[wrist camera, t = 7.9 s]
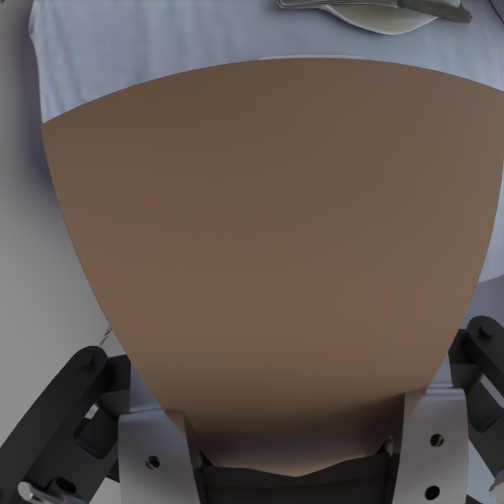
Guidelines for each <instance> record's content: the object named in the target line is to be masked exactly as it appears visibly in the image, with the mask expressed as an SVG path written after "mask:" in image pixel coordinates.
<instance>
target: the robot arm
mask: <svg viewBox="0 0 504 504" xmlns="http://www.w3.org/2000/svg"><path fill="white" fill-rule="evenodd" d="M490 1H491V3H492V5H493V6H494V8H495V10H496V11H497V13H498V14H499V16H500V17H501V18H502V20H503V21H504V0H490ZM484 375H485V376H486V377H487V378H488V379H489V380H490V382H491V383H492V384H493V385H494V386H495V388H496V389H497V390H498V391H499V392H500V394H501V395H502V396H503V397H504V328H503V327H502V326H501V325H500V324H499V323H498V322H497V321H495V320H494V319H492V318H490V317H487V316H476V317H474V318H472V319H471V320H470V321H469V324H468V326H467V328H466V329H459V330H458V332H457V334H456V336H455V338H454V340H453V342H452V344H451V346H450V348H449V350H448V352H447V354H446V356H445V358H444V360H443V362H442V364H441V365H440V367H439V369H438V371H437V372H436V374H435V376H434V378H433V379H432V381H431V383H430V384H429V386H428V388H427V389H422V390H416V391H411V392H405V393H404V394H403V396H402V398H401V400H400V401H399V403H398V405H397V407H396V408H395V410H394V412H393V413H392V415H391V417H390V418H389V420H388V422H387V423H386V425H385V426H384V428H383V429H382V431H381V432H380V434H379V435H378V437H377V438H376V440H375V441H374V443H373V444H372V446H371V447H370V448H369V450H368V451H367V453H366V454H365V456H364V457H361V458H356V459H350V460H345V461H342V462H340V463H337V464H335V465H332V466H330V467H327V468H324V469H321V470H318V471H315V472H312V473H309V474H306V475H303V476H299V477H293V476H286V475H280V474H275V473H269V472H264V471H260V470H255V469H251V468H235V467H223V465H222V463H221V462H220V461H219V460H218V458H217V457H216V456H215V455H214V453H213V452H212V451H211V450H210V448H209V447H208V446H207V444H206V443H205V442H204V440H203V439H202V438H201V436H200V435H199V434H198V432H197V431H196V429H195V428H194V427H193V425H192V424H191V422H190V421H189V419H188V418H187V416H186V415H185V414H184V412H183V411H182V410H163V408H162V407H161V406H160V404H159V403H158V401H157V400H156V399H155V397H154V396H153V394H152V393H151V392H150V390H149V389H148V387H147V386H146V384H145V383H144V381H143V380H142V378H141V377H140V375H139V374H138V372H137V371H136V369H135V367H134V366H133V364H132V363H131V361H130V359H129V358H128V356H127V354H124V355H119V356H114V357H108V355H107V354H106V352H105V351H104V350H103V349H102V348H101V347H98V346H88V347H85V348H83V349H81V350H79V351H78V352H77V353H75V354H74V355H73V357H72V358H71V359H70V360H69V361H68V362H67V364H66V365H65V366H64V367H63V368H62V369H61V370H60V372H59V373H58V374H57V375H56V376H55V378H54V379H53V380H52V381H51V383H50V384H49V385H48V386H47V387H46V388H45V390H44V391H43V392H42V393H41V395H40V396H39V397H38V399H37V400H36V401H35V402H34V403H33V405H32V406H31V407H30V409H29V410H28V411H27V413H26V414H25V415H24V416H23V418H22V419H21V420H20V422H19V423H18V424H17V426H16V427H15V428H14V430H13V431H12V432H11V434H10V435H9V436H8V438H7V439H6V441H5V442H4V443H3V445H2V446H1V448H0V504H89V502H90V501H91V499H92V498H93V496H94V495H95V493H96V491H97V490H98V488H99V486H100V485H101V483H102V482H103V480H104V478H105V477H106V475H107V474H108V472H109V471H110V469H111V468H112V466H113V464H114V463H115V461H116V460H117V458H119V476H120V489H121V499H122V504H482V503H480V502H479V501H477V500H475V499H474V498H472V497H470V496H469V495H467V494H466V491H467V479H468V453H469V451H468V450H469V447H468V446H469V445H468V438H469V440H470V441H471V443H472V444H473V445H474V447H475V449H476V450H477V451H478V453H479V454H480V456H481V458H482V459H483V461H484V462H485V464H486V465H487V467H488V468H489V470H490V471H491V473H492V475H493V476H494V478H495V481H494V484H492V485H491V487H490V489H489V496H490V497H491V498H496V501H497V504H504V408H502V407H501V406H500V405H499V404H498V403H497V402H496V400H495V399H494V398H493V397H492V396H491V394H490V393H489V392H488V391H487V389H486V388H485V387H484V386H483V384H482V383H481V382H480V380H481V379H482V377H483V376H484ZM93 405H95V406H96V407H97V408H98V410H97V411H96V413H95V414H94V416H93V417H92V418H91V420H90V421H89V423H88V424H87V425H86V427H85V428H84V430H83V431H82V432H81V434H80V435H79V436H78V437H77V438H75V439H74V438H73V435H74V431H75V429H76V428H77V427H78V425H79V424H80V422H81V421H82V420H83V418H84V417H85V416H86V414H87V413H88V411H89V410H90V409H91V407H92V406H93Z"/></svg>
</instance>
